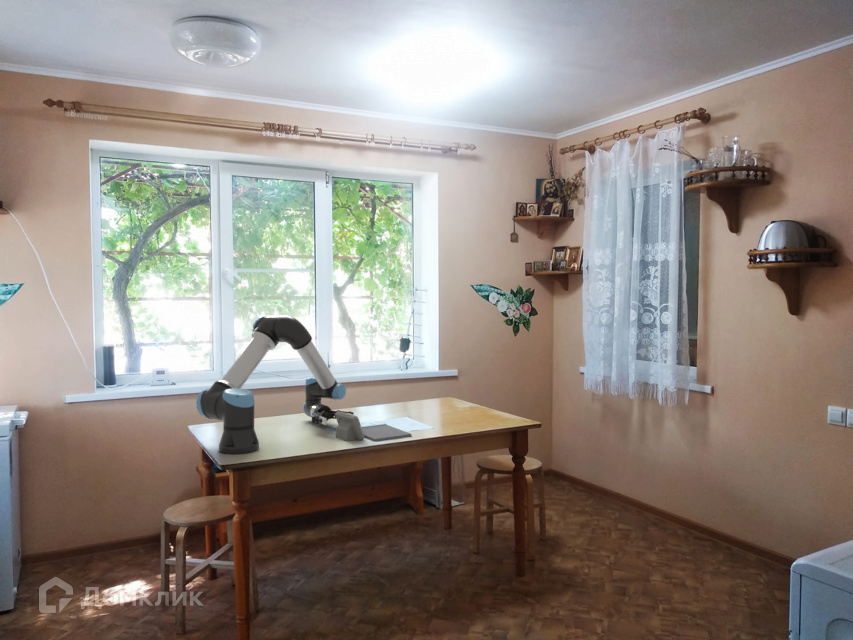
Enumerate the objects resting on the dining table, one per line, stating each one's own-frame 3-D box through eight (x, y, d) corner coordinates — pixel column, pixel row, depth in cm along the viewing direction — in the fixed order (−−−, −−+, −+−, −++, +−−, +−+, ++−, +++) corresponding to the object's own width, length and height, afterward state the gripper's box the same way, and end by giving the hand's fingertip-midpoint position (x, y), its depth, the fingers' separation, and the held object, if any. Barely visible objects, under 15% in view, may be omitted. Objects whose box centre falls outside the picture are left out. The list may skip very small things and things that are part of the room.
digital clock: (365, 440, 251) (365, 415, 251) (345, 443, 247) (345, 417, 247) (351, 433, 265) (351, 409, 265) (332, 435, 261) (332, 411, 261)
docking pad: (374, 441, 249) (374, 438, 249) (349, 430, 270) (349, 427, 270) (411, 436, 259) (411, 433, 259) (384, 426, 279) (384, 423, 279)
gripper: (345, 417, 289) (365, 425, 271) (295, 423, 275) (313, 432, 257) (345, 402, 288) (365, 408, 270) (295, 407, 275) (313, 414, 257)
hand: (340, 420), depth 264 cm, fingers open, 13 cm apart
